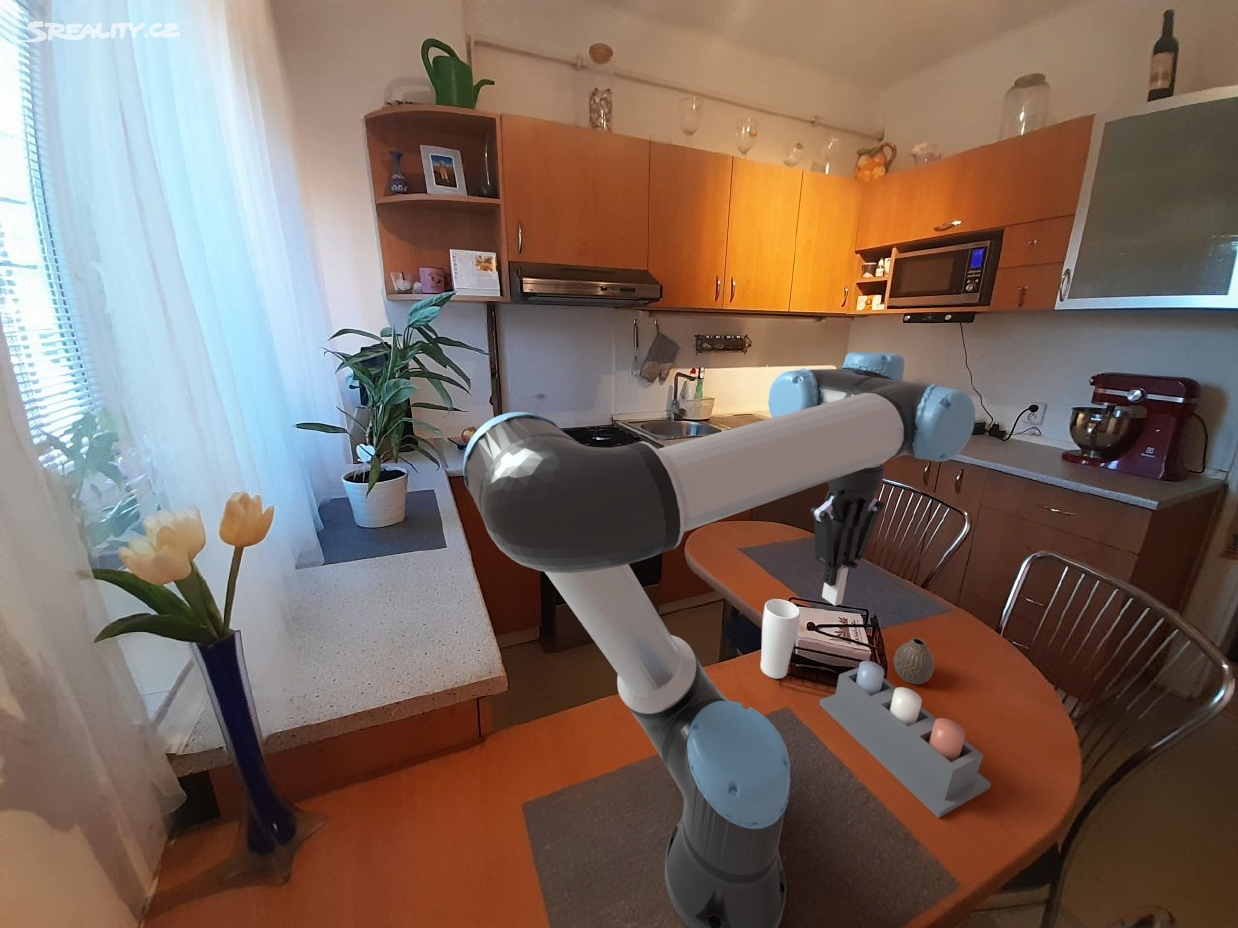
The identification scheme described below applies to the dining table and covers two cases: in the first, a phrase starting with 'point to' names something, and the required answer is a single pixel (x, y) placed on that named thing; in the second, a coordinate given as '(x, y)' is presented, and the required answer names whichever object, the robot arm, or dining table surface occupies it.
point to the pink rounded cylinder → (947, 738)
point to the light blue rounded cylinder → (870, 677)
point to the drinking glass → (778, 636)
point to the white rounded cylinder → (906, 705)
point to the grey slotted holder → (906, 746)
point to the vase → (914, 662)
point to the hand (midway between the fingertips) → (831, 600)
